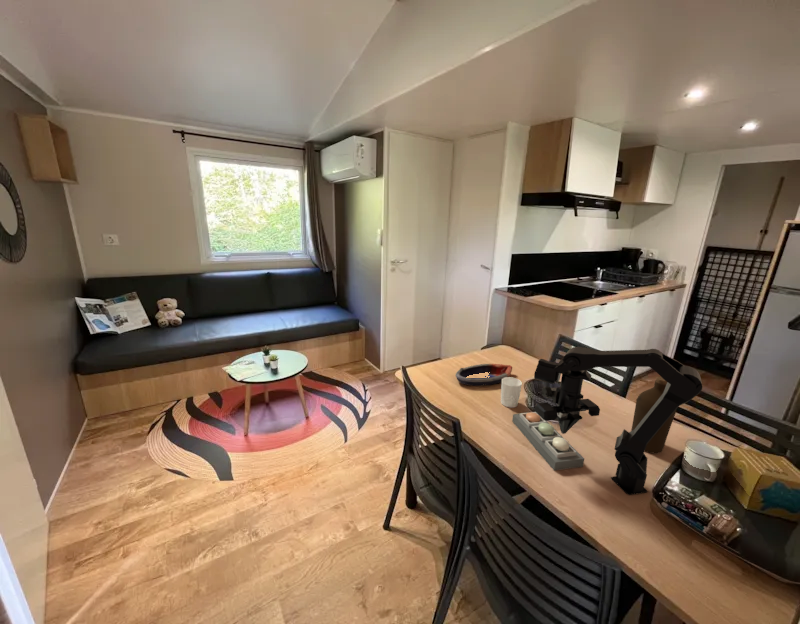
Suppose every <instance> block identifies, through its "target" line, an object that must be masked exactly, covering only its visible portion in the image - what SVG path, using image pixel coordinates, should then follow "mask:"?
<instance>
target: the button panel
mask: <svg viewBox="0 0 800 624" xmlns="http://www.w3.org/2000/svg"><path fill="white" fill-rule="evenodd" d="M530 412H531V411H530ZM530 412H521V413H520V412H519V413H513V414H512V418H511V419H512V420H511V421H512V423H513V424H514V425H515V427H516V428H517V429H518V430H519V431H520V432H521V433H522V435H523V436H524V437H525V438H526V440H528V441H529V443H530V444H531V445H532V447H533V448H534V449H535V450H536V451H537V453H538V454H539V455H540V456H541V458H543V460H545V462H546V464H548V465H549V467H550V468H551V469H552V471H562V470H567V469H577V468H583V467H584V464H585V458H584V456H583V455H581V453H580V452H578V450H576V448H575V447H574V446H573V445H571V444H570V445H569V450H568V451H559V450H557V449H555V448H554V447H553V445H552V443H553V439H554V438H555V437H560V438H564V437H563V436H562V435H561V434H560V433H559V432H558V430H556V429H555V428H554V433H553V435H544V434H542V433H540V432H539V430H538V428H539V424H540V423H548V424H550V422H548V421H545V420H543V419H542V418H541V417H540V422H534V423H530V422H529V421H528V420H527V419H526V414H527V413H530ZM532 413H536V412H535V411H532ZM536 414H537V413H536Z"/></svg>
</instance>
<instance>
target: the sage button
mask: <svg viewBox="0 0 800 624" xmlns="http://www.w3.org/2000/svg"><path fill="white" fill-rule="evenodd" d="M548 423H549V422H548ZM548 423H540V424H539V428H538V430H539V432H540V433H542V434H544V435H553V433H554V429H555V427H554V426H553V425H551V424H550V423H549V424H548Z"/></svg>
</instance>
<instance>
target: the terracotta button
mask: <svg viewBox="0 0 800 624" xmlns="http://www.w3.org/2000/svg"><path fill="white" fill-rule="evenodd" d="M532 412H533V411H532ZM532 412H531V411H530V413H529V412H526V413H527V414H526V419H527V420H528V421H529V422H530V423H534V422H540V416H539V415H538V414H536V413H532Z"/></svg>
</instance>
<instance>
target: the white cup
mask: <svg viewBox="0 0 800 624" xmlns="http://www.w3.org/2000/svg"><path fill="white" fill-rule="evenodd" d="M522 385H523V383H522V381H521V380H520V379H519V378H516V377H513V376H511V377H510V376H509V377H505V378H503V379H502V382H500V386H501V387H500V403H501V405H503V406H504V407H505V408H510V409H511V408H516V407H518V404H519V399H520V396H521V391H522V390H521V389H522Z"/></svg>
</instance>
